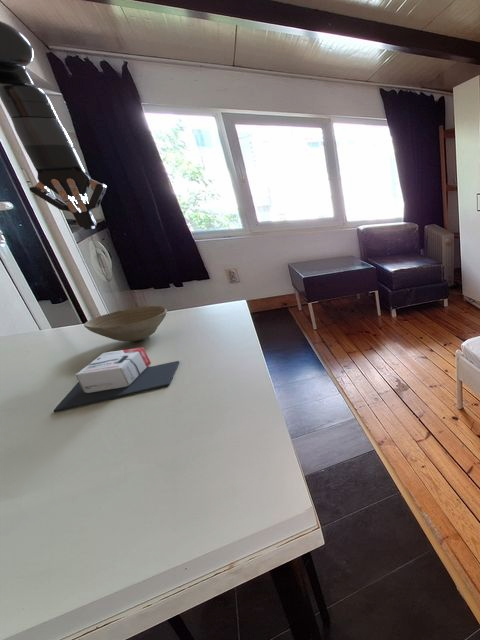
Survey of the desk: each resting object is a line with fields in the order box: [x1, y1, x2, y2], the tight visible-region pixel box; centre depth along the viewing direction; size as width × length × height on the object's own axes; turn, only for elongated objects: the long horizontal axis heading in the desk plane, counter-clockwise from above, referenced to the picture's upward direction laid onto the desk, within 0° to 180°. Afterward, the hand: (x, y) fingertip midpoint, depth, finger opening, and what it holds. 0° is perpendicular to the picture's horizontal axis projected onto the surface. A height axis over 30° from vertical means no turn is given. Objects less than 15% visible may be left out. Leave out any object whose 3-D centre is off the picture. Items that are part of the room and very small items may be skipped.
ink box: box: [74, 347, 152, 393], centre depth 86 cm, size 8×5×12 cm
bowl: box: [83, 305, 168, 342], centre depth 107 cm, size 18×18×8 cm
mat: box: [53, 360, 180, 413], centre depth 85 cm, size 20×13×1 cm, turn 117°
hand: (90, 228), depth 85 cm, fingers closed
